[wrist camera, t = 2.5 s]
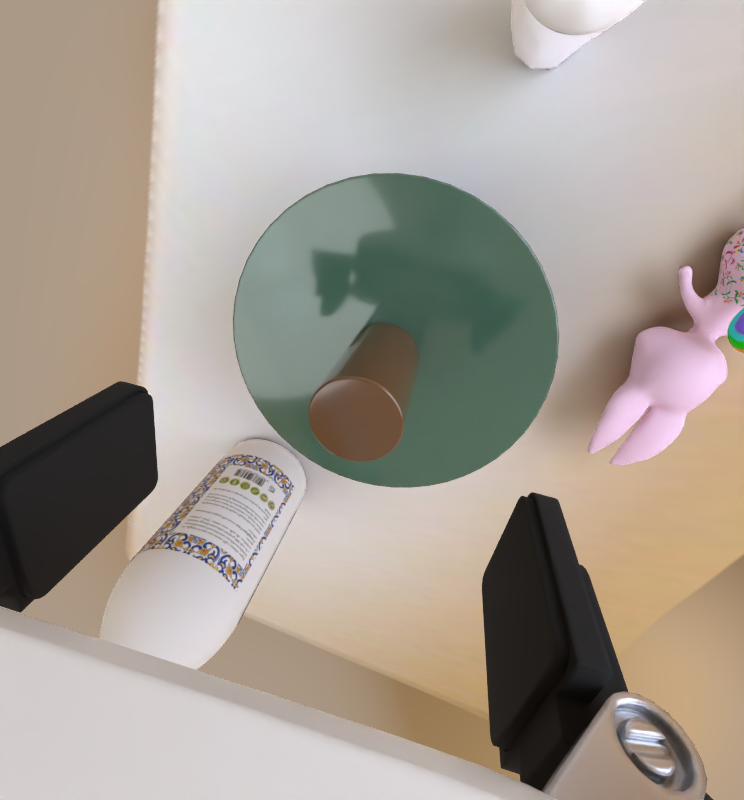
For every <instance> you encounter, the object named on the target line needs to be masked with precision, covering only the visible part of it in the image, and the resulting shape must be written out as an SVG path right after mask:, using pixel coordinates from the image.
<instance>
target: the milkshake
mask: <svg viewBox="0 0 744 800" xmlns="http://www.w3.org/2000/svg"><path fill="white" fill-rule="evenodd" d="M644 1H645V0H512V9H511V24H510V28H511V35H512V41H513V48H514V54H515V55H516V56H517V57H518V58H519V59H520V60H521V61H522V62H523V63H525V64H526V65H527V66H528V67H529V68H530V69H550V68H555V67H557V66H558V65H559V64H560V63H562V62H563V61H564V60H565V59H566V58H568V57H569V56H570V55H571V54H573V53H574V52H575V51H577V50H578V49H579V48H580V47H582V46H583V45H584V44H586V43H587V42H589V41H590V40H592V39H594V38H595V37H597V36H598V35H600V34H601V33H603V32H604V31H606V30H607V29H609V28H610V27H612V26H613V25H615V24H616V23H618V22H619V21H621V20H622V19H624V18H625V17H627V16H628V15H629V14H631V13H632V12H633V11H634V10H636V9H637V8H638V7H639V6H640V5H641V4H642V3H643V2H644Z"/></svg>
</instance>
